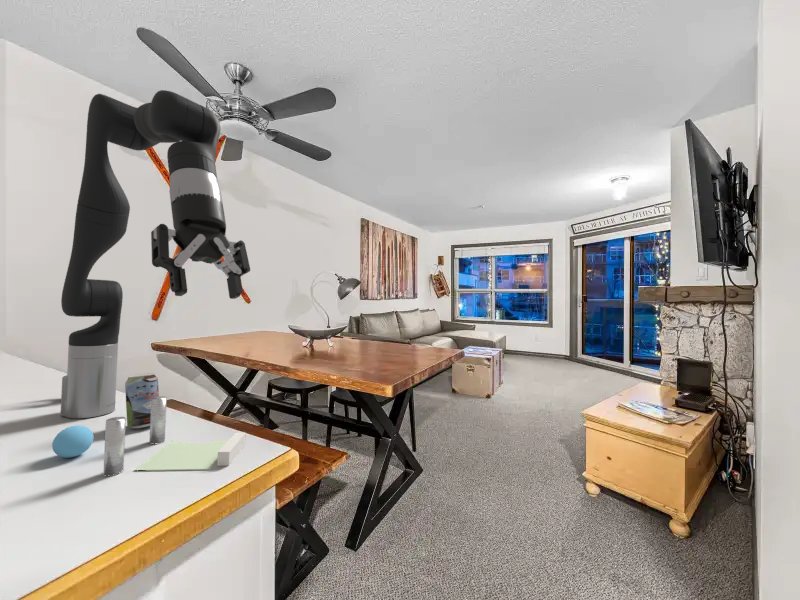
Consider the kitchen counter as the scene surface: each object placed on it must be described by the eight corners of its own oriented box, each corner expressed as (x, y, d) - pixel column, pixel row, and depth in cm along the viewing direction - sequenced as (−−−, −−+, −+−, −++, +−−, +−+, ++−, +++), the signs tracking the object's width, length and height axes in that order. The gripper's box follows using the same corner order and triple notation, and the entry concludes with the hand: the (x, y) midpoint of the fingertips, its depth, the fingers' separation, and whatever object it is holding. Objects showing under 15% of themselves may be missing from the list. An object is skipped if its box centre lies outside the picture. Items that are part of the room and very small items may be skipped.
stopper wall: (217, 465, 62) (217, 451, 62) (235, 444, 70) (235, 432, 71) (228, 465, 62) (229, 451, 62) (245, 444, 71) (245, 432, 71)
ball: (42, 463, 60) (43, 432, 60) (68, 449, 65) (70, 421, 65) (77, 463, 60) (78, 432, 60) (100, 449, 66) (101, 421, 66)
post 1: (99, 476, 56) (101, 422, 56) (110, 468, 59) (113, 416, 59) (116, 476, 57) (118, 422, 57) (127, 468, 59) (129, 416, 59)
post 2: (146, 444, 69) (148, 399, 69) (154, 439, 72) (156, 396, 72) (160, 444, 69) (162, 399, 69) (167, 439, 72) (169, 396, 72)
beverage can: (142, 433, 74) (144, 378, 74) (114, 429, 76) (117, 375, 76) (167, 423, 80) (169, 372, 80) (141, 419, 82) (143, 369, 82)
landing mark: (133, 471, 59) (133, 470, 59) (171, 442, 70) (172, 441, 70) (207, 469, 60) (207, 468, 60) (232, 441, 72) (232, 440, 72)
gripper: (225, 223, 65) (237, 305, 62) (137, 201, 53) (146, 301, 49) (249, 206, 61) (263, 291, 58) (160, 178, 49) (172, 284, 46)
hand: (210, 296), depth 54 cm, fingers open, 8 cm apart
